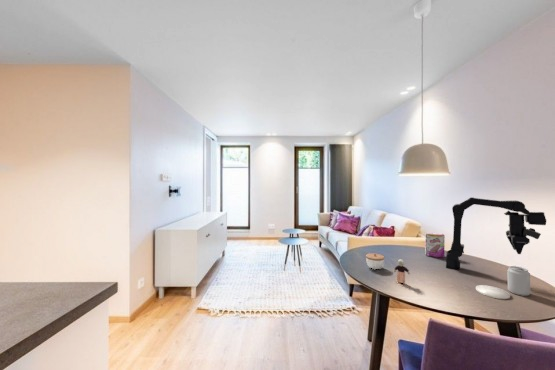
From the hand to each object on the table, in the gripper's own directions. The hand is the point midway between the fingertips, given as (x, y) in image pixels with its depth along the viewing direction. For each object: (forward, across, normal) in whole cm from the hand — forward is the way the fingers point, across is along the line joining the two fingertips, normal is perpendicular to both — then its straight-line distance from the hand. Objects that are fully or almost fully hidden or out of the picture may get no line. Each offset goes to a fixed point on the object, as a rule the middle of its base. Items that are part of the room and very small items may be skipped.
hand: (517, 251), depth 124 cm
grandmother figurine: (+15, -42, +50) cm, 67 cm away
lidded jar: (+15, -28, +67) cm, 74 cm away
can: (+15, -22, +3) cm, 27 cm away
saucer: (+15, -29, +13) cm, 35 cm away
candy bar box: (+15, +20, +38) cm, 46 cm away
